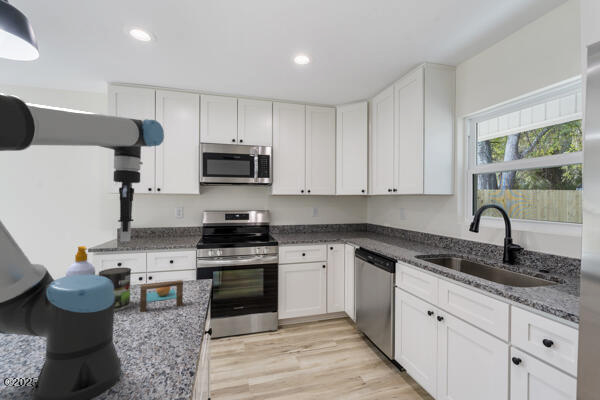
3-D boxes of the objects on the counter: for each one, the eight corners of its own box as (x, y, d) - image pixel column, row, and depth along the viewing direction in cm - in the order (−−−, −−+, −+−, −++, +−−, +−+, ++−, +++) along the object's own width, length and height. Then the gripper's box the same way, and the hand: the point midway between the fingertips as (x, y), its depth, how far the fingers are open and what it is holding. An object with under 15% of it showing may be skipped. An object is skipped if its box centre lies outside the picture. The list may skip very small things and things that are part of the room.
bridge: (182, 305, 106) (182, 281, 106) (140, 311, 99) (140, 287, 99) (181, 302, 109) (182, 279, 109) (140, 308, 102) (140, 284, 102)
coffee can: (136, 302, 108) (136, 267, 108) (118, 312, 98) (119, 274, 98) (111, 301, 108) (111, 266, 109) (90, 312, 98) (91, 273, 98)
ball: (165, 291, 120) (166, 300, 116) (153, 288, 117) (153, 297, 113) (172, 281, 120) (173, 290, 115) (160, 278, 116) (160, 287, 112)
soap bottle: (68, 317, 93) (70, 249, 93) (61, 310, 99) (63, 246, 99) (98, 310, 100) (100, 246, 100) (90, 303, 106) (92, 243, 106)
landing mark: (176, 297, 114) (176, 297, 114) (144, 302, 108) (144, 302, 108) (174, 289, 124) (174, 289, 124) (144, 293, 118) (144, 293, 118)
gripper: (138, 169, 85) (136, 243, 85) (141, 173, 97) (139, 238, 96) (110, 167, 82) (108, 244, 81) (117, 171, 93) (114, 239, 93)
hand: (125, 241), depth 89 cm, fingers closed
